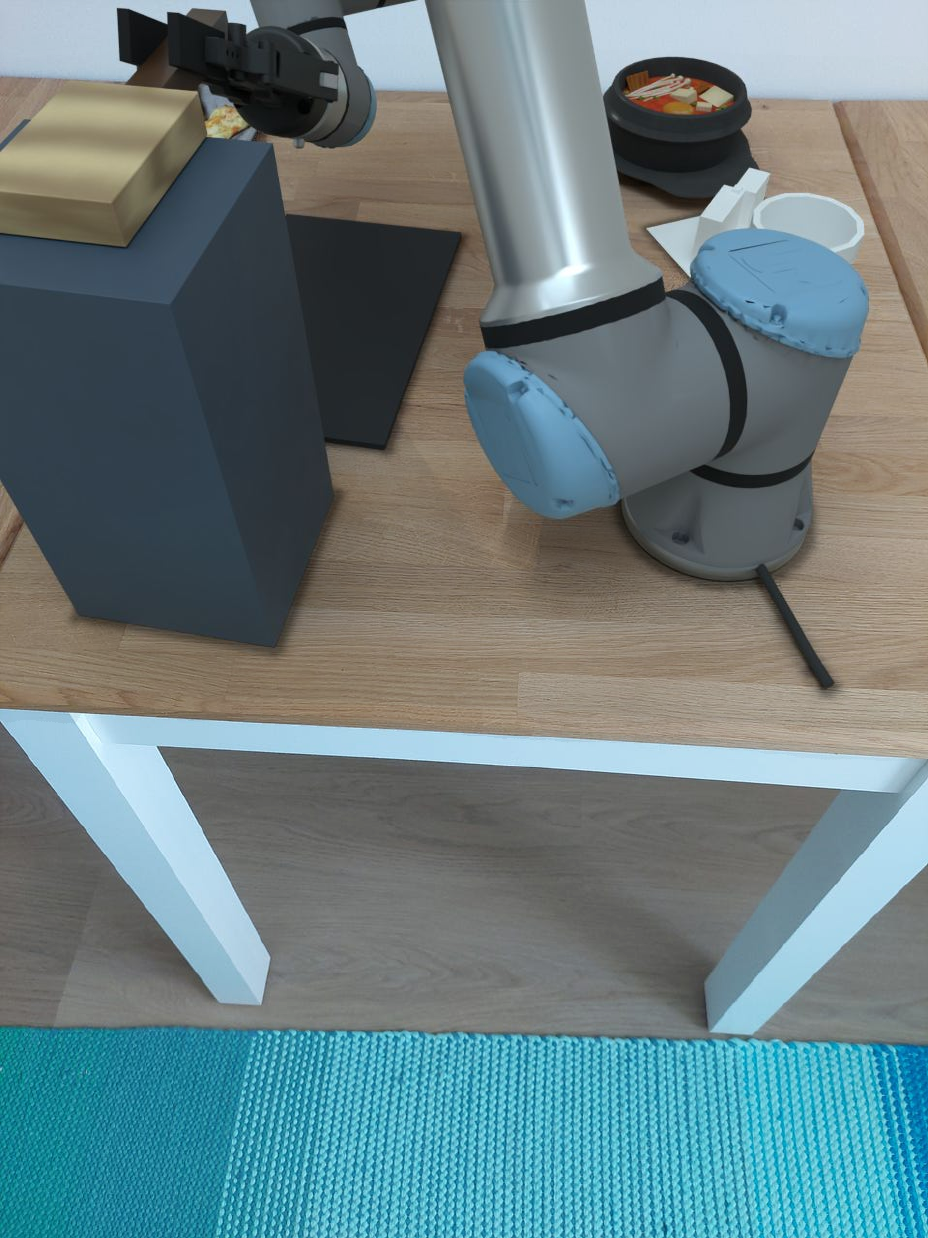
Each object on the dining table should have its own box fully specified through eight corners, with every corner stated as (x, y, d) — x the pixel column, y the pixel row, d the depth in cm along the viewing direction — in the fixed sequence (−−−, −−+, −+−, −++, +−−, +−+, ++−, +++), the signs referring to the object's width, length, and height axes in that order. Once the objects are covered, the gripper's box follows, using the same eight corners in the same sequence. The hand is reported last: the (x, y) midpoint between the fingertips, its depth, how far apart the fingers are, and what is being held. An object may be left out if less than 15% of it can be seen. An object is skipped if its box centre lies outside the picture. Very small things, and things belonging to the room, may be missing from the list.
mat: (287, 218, 105) (286, 213, 104) (461, 236, 102) (461, 231, 102) (172, 420, 85) (170, 415, 84) (384, 450, 83) (384, 445, 82)
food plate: (208, 78, 125) (202, 49, 122) (300, 147, 114) (295, 118, 111) (30, 136, 116) (19, 107, 113) (110, 217, 105) (100, 187, 102)
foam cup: (819, 384, 87) (866, 258, 77) (719, 372, 88) (752, 246, 78) (817, 322, 93) (861, 197, 82) (723, 311, 94) (754, 187, 83)
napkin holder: (697, 285, 96) (708, 234, 92) (644, 228, 103) (652, 178, 98) (819, 253, 100) (836, 202, 95) (761, 200, 106) (774, 150, 101)
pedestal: (158, 470, 81) (24, 118, 57) (334, 495, 79) (273, 142, 55) (77, 614, 72) (-123, 268, 48) (275, 647, 70) (170, 303, 46)
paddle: (160, 37, 63) (150, -5, 61) (272, 46, 62) (265, 4, 60) (-15, 231, 50) (-35, 186, 48) (126, 247, 49) (111, 202, 47)
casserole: (549, 128, 116) (554, 55, 109) (676, 97, 121) (688, 25, 114) (656, 229, 103) (669, 154, 96) (794, 190, 107) (816, 115, 100)
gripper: (377, 146, 77) (273, 120, 55) (199, 129, 79) (33, 98, 57) (382, 40, 74) (275, -31, 52) (197, 25, 75) (21, -49, 54)
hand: (149, 37), depth 55 cm, fingers closed on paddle, 2 cm apart
